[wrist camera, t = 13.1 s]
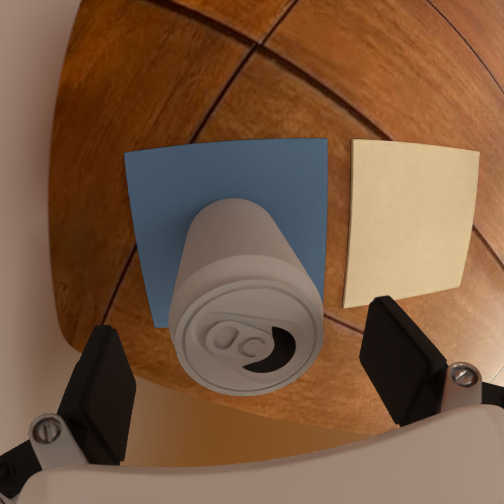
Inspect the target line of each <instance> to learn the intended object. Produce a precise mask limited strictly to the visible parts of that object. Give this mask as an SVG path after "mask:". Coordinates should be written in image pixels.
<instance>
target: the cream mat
mask: <svg viewBox="0 0 504 504" xmlns="http://www.w3.org/2000/svg"><path fill="white" fill-rule="evenodd" d="M479 153H480V152H478V151H472V150H466V149H459V148H452V147H444V146H436V145H427V144H418V143H407V142H395V141H381V140H364V139H351V198H350V221H349V238H348V252H347V265H346V276H345V287H344V297H343V308H350V307H356V306H362V305H368V304H370V302H373V299H374V298H375V297H380V296H386V295H389V296H391V297H392V299H393V300H397V299H402V298H407V297H412V296H418V295H423V294H427V293H432V292H437V291H442V290H446V289H451V288H455V287H460V283H461V279H462V275H463V270H464V266H465V261H466V257H467V252H468V247H469V241H470V236H471V230H472V224H473V217H474V210H475V202H476V193H477V183H478V171H479Z"/></svg>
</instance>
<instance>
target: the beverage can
mask: <svg viewBox="0 0 504 504" xmlns="http://www.w3.org/2000/svg"><path fill="white" fill-rule="evenodd" d="M168 324H169V332H170V336H171V339H172V342H173V344H174V346H175V350H176V354H177V357H178V360H179V362H180V364H181V366H182V367H183V369H184V370H185V371H186V373H187V374H188V375H189V376H190V377H191V378H192V379H194V380H195V381H196V382H198V383H199V384H201V385H202V386H204V387H206V388H208V389H210V390H213V391H215V392H218V393H222V394H227V395H233V396H254V395H261V394H265V393H269V392H273V391H275V390H278V389H280V388H282V387H284V386H286V385H288V384H290V383H292V382H294V381H295V380H296V379H298V378H299V377H300V376H302V375H303V374H304V373H305V372H306V371H307V370H308V369H309V368H310V367H311V365H312V364H313V363H314V361H315V360H316V358H317V356H318V354H319V352H320V350H321V346H322V343H323V335H324V329H323V306H322V301H321V298H320V295H319V292H318V290H317V288H316V286H315V285H314V283H313V282H312V280H311V278H310V277H309V275H308V274H307V272H306V270H305V269H304V267H303V266H302V264H301V262H300V261H299V259H298V258H297V256H296V255H295V253H294V251H293V250H292V248H291V247H290V245H289V244H288V242H287V240H286V239H285V237H284V236H283V234H282V233H281V231H280V230H279V228H278V226H277V225H276V223H275V222H274V220H273V219H272V217H271V216H270V215H269V213H268V212H267V211H266V210H265V209H263V208H262V207H261V206H259V205H258V204H256V203H254V202H251V201H248V200H245V199H239V198H228V199H222V200H219V201H216V202H214V203H211V204H210V205H208V206H206V207H205V208H204V209H202V210H201V211H200V212H199V213H198V214H197V215H196V217H195V218H194V220H193V221H192V223H191V225H190V227H189V230H188V234H187V238H186V242H185V246H184V250H183V254H182V258H181V262H180V266H179V270H178V275H177V279H176V283H175V288H174V292H173V297H172V301H171V306H170V311H169V318H168Z"/></svg>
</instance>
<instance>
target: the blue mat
mask: <svg viewBox="0 0 504 504" xmlns="http://www.w3.org/2000/svg"><path fill="white" fill-rule="evenodd" d="M124 158H125V167H126V176H127V184H128V192H129V199H130V206H131V213H132V219H133V225H134V231H135V237H136V243H137V248H138V253H139V259H140V264H141V269H142V274H143V278H144V283H145V288H146V292H147V297H148V301H149V305H150V310H151V314H152V318H153V322H154V326H155V328H164V327H169V324H168V318H169V311H170V306H171V301H172V297H173V292H174V288H175V283H176V279H177V275H178V270H179V266H180V262H181V258H182V254H183V250H184V246H185V242H186V238H187V234H188V230H189V227H190V225H191V223H192V221H193V220H194V218H195V217H196V215H197V214H198V213H199V212H200V211H201V210H202V209H204V208H205V207H206V206H208V205H210V204H211V203H214V202H216V201H219V200H222V199H228V198H239V199H245V200H248V201H251V202H254V203H256V204H258V205H259V206H261V207H262V208H263V209H265V210H266V211H267V212H268V213H269V215H270V216H271V217H272V219H273V220H274V222H275V223H276V225H277V226H278V228H279V230H280V231H281V233H282V234H283V236H284V237H285V239H286V240H287V242H288V244H289V245H290V247H291V248H292V250H293V251H294V253H295V255H296V256H297V258H298V259H299V261H300V262H301V264H302V266H303V267H304V269H305V270H306V272H307V274H308V275H309V277H310V278H311V280H312V282H313V283H314V285H315V286H316V288H317V290H318V292H319V295H320V298H321V301H322V305H323V291H324V275H325V257H326V233H327V193H328V147H327V138H282V139H253V140H235V141H221V142H208V143H197V144H187V145H178V146H169V147H161V148H153V149H146V150H139V151H132V152H126V153H124Z"/></svg>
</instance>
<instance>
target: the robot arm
mask: <svg viewBox="0 0 504 504" xmlns="http://www.w3.org/2000/svg"><path fill="white" fill-rule="evenodd" d="M359 358H360V362H361V364H362V366H363V368H364V370H365V371H366V373H367V375H368V376H369V378H370V380H371V382H372V383H373V385H374V387H375V389H376V390H377V392H378V394H379V396H380V398H381V399H382V401H383V403H384V405H385V406H386V408H387V410H388V412H389V414H390V415H391V417H392V419H393V421H394V422H395V424H397V425H398V424H399V425H400V427H401V428H398V429H395V430H392V431H389V432H386V433H383V434H380V435H377V436H374V437H370V438H367V439H363V440H360V441H356V442H353V443H349V444H345V445H341V446H338V447H334V448H330V449H325V450H321V451H316V452H311V453H306V454H301V455H296V456H291V457H285V458H279V459H273V460H266V461H258V462H251V463H241V464H232V465H219V466H204V467H131V466H120V461H124V459H125V452H126V446H127V439H128V433H129V427H130V421H131V415H132V409H133V404H134V398H135V393H136V381H135V378H134V376H133V373H132V371H131V368H130V366H129V363H128V360H127V358H126V355H125V352H124V350H123V347H122V344H121V341H120V338H119V336H118V333H117V330H116V329H112V327H111V326H110V325H97V326H95V327H94V328H93V331H92V333H91V335H90V337H89V339H88V342H87V344H86V346H85V348H84V351H83V353H82V355H81V358H80V360H79V361H78V362H77V364H76V366H75V368H74V370H73V373H72V375H71V378H70V381H69V383H68V385H67V388H66V390H65V393H64V395H63V398H62V401H61V404H60V406H59V409H58V411H57V414H54V413H45V414H42V415H40V416H38V417H37V418H36V419H34V421H33V422H32V423H31V425H30V427H29V432H28V434H29V440H27V441H25V442H24V443H22V444H20V445H18V446H17V447H15V448H13V449H11V450H10V451H8V452H6V453H4V454H3V455H1V456H0V504H504V387H501V386H497V385H493V384H489V383H486V382H482V377H481V374H480V372H479V370H478V369H477V368H476V367H475V366H473V365H471V364H469V363H466V362H455V363H453V364H451V365H450V366H448V365H447V363H446V361H447V360H446V359H445V357H444V356H443V355H442V354H441V353H440V351H439V350H438V349H437V348H436V347H435V346H434V344H433V343H432V342H431V341H430V340H429V339H428V338H427V336H426V335H425V334H424V333H423V332H422V331H421V330H420V328H419V327H418V326H417V325H416V324H415V323H414V322H413V321H412V319H411V318H410V317H409V316H408V315H407V314H406V313H405V312H404V311H403V309H402V308H401V307H400V306H399V305H398V304H397V303H396V302H395V301H394V300H393V299H392V297H391V296H389V295H386V296H380V297H375V298H374V299H373V302H370V304H369V309H368V315H367V320H366V325H365V331H364V336H363V340H362V345H361V350H360V355H359Z"/></svg>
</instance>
